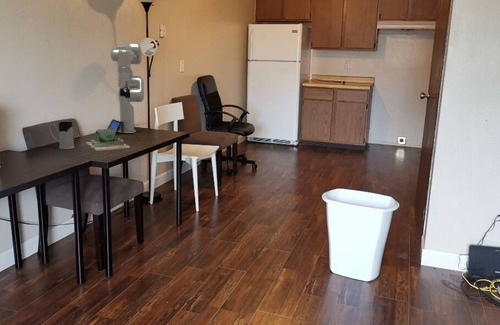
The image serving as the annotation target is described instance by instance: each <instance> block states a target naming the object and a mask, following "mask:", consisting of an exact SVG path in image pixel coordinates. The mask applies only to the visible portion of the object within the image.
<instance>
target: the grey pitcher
mask: <svg viewBox="0 0 500 325" xmlns="http://www.w3.org/2000/svg"><path fill="white" fill-rule="evenodd" d="M51 126H54V127H55V129H56V132H58V137H59V139H58V138H56V137H55V136H54V135H53V133H52V130H51ZM57 126H58V127H57ZM49 132H50V134H51V137H52V138H54V140H56V141H57V142H58V144H59V147H58V148H59V149H60V150H70V149H75V145H74V143H75V142H74V141H75V140H74V127H73V122H72V121H60V122H58V125H56V124H55V123H51V124H50V125H49Z"/></svg>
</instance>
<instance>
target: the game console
mask: <svg viewBox="0 0 500 325" xmlns="http://www.w3.org/2000/svg"><path fill="white" fill-rule="evenodd" d="M121 124H122V122H120V120H116V119H114V118H113V119H111V121H110V122H109V124H108V126H107V128H106V129H114V127H115V128H116V132H115V136H117V135H116V134H117V133H118V131H119V129H121V127H120V126H121ZM95 133H96V134H98V133H97V130H96V131H95Z"/></svg>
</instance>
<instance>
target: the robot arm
mask: <svg viewBox="0 0 500 325" xmlns="http://www.w3.org/2000/svg"><path fill="white" fill-rule="evenodd" d="M110 59H111V61H113V62H116V63H117V68H118V69H117V72H118V79H117V80H118V82H117V83H118V85H117V87H118V88H119V90H118V92H117V94H118V102H119V116H120V117H119V119H120V120H119V121H120V122H122V124H121V126H120V130H118V131H117V133H118V132H119V133H118V134H120V133H134V132H136V131H137V130H135V108H134V106H133V104H131V103H141V102H143V101H144V99H145V84H144V79H143V77H142V76H140V75H134V71H133V69H132V68H131V65H141V63H142V61H143V60H142V59H143V58H142V47H141V45H140V44H139V43H137V42H136V43H135V42H123V43H121V44H120V46H115V47H112V48H111V50H110ZM134 134H135V133H134Z"/></svg>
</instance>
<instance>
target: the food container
mask: <svg viewBox="0 0 500 325" xmlns="http://www.w3.org/2000/svg"><path fill="white" fill-rule="evenodd" d="M96 131H97V133H96V134H97V135H98V139H99V143H101V142H114V141H115V138H116V135H115V132H116V128H115V127H114V129H107V128H105V129H98V128H97V130H96Z"/></svg>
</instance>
